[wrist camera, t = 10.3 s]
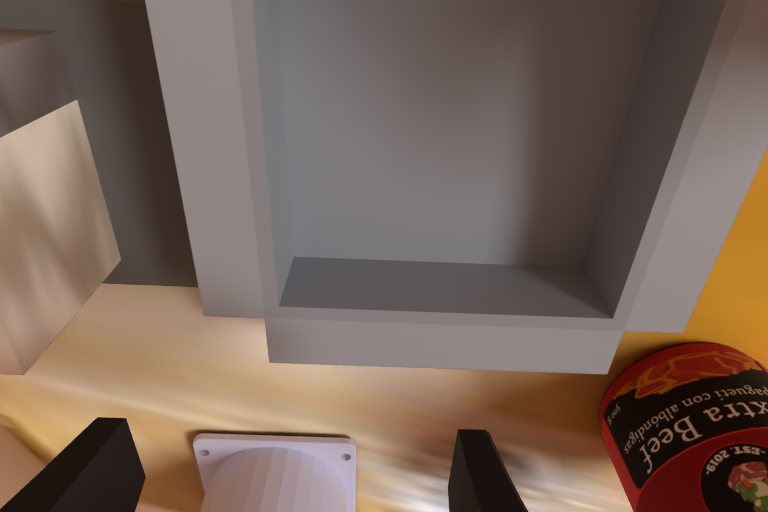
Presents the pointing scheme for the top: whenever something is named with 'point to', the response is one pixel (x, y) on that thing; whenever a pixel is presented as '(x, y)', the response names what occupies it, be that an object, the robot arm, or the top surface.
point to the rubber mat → (122, 129)
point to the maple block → (45, 200)
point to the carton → (460, 170)
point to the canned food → (690, 430)
